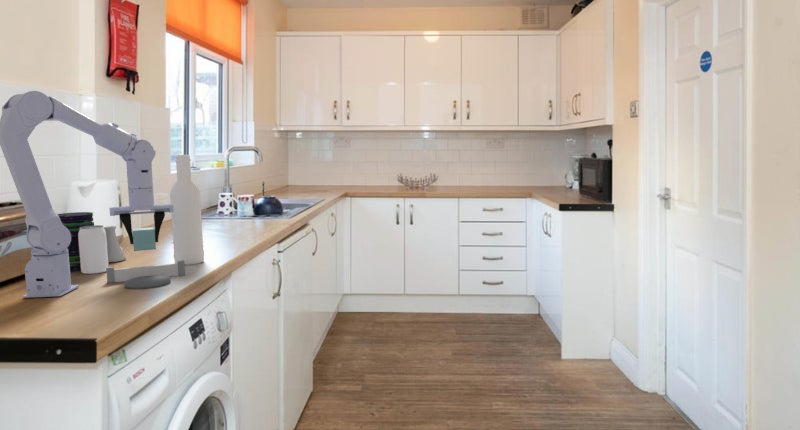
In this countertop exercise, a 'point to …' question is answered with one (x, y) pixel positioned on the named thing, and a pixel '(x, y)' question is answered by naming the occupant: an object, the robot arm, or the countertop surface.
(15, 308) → the countertop surface
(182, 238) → the bottle
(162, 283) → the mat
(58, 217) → the robot arm
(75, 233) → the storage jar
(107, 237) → the flask
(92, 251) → the can
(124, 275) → the acrylic wall
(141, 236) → the block
